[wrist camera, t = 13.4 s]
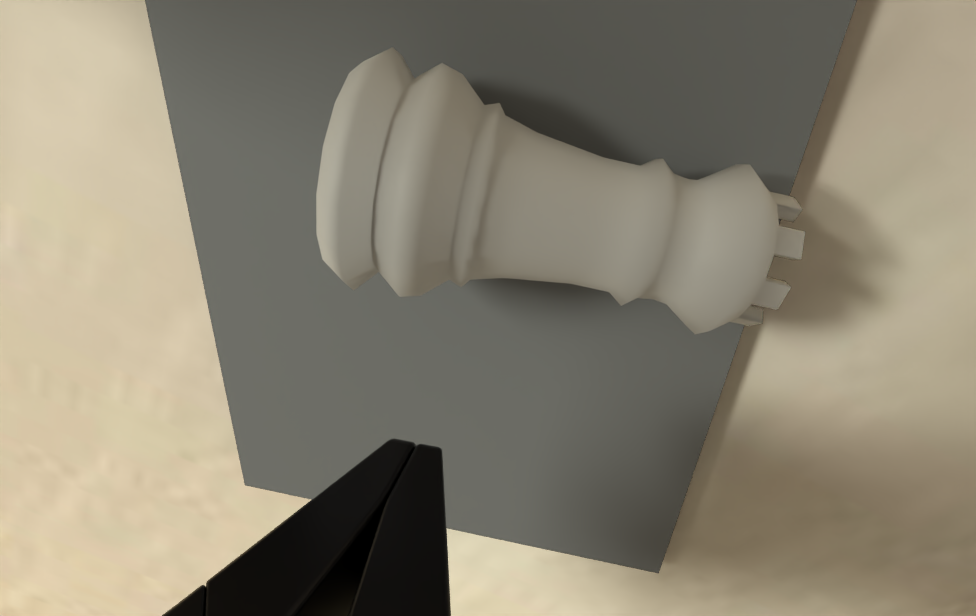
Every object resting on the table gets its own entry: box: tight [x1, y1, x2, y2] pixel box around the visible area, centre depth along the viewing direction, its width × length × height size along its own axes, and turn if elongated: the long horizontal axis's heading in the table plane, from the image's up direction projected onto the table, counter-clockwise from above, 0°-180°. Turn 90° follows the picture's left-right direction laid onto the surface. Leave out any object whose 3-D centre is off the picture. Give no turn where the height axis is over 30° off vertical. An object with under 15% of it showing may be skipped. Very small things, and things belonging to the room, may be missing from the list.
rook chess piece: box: [316, 47, 805, 334], centre depth 11 cm, size 4×4×8 cm
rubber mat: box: [145, 0, 857, 573], centre depth 15 cm, size 18×14×1 cm
